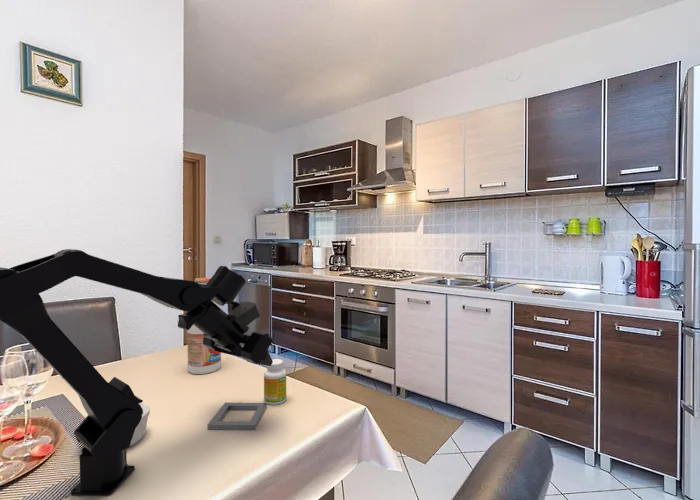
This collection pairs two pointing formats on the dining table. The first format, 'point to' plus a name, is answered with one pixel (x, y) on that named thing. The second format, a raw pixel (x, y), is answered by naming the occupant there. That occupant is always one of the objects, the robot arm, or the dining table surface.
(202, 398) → the dining table surface
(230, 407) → the frame
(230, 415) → the dining table surface
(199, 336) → the fruit juice
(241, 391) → the dining table surface
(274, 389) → the supplement bottle
